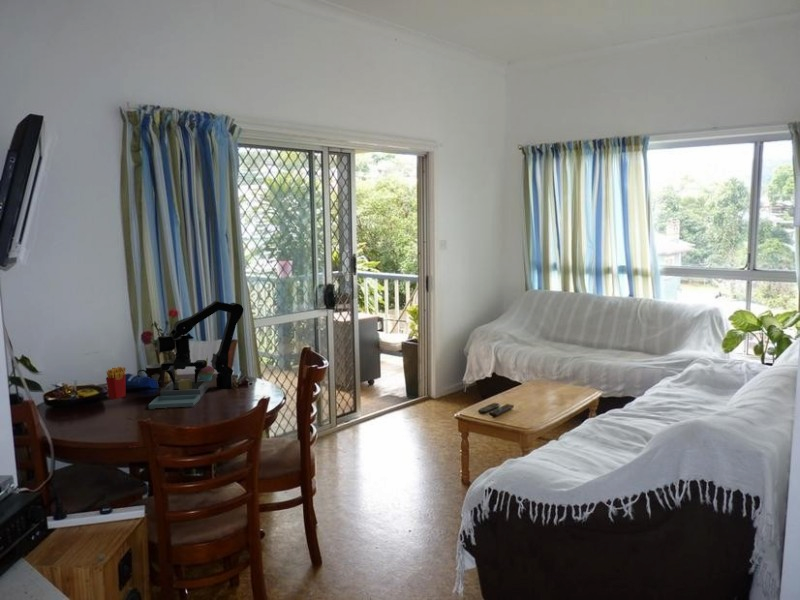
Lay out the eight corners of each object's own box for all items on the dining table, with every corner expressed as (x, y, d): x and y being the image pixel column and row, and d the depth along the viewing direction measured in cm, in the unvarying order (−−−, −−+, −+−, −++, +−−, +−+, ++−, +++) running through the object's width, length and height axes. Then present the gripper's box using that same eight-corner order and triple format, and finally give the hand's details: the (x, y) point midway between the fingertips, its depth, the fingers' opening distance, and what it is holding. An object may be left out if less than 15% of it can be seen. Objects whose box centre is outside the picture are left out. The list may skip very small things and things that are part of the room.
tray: (200, 399, 272) (200, 394, 272) (193, 407, 260) (193, 402, 260) (157, 401, 271) (157, 396, 270) (148, 409, 259) (148, 404, 259)
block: (192, 391, 285) (191, 378, 284) (189, 394, 280) (188, 381, 279) (181, 392, 284) (180, 379, 284) (179, 394, 280) (178, 381, 279)
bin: (209, 387, 291) (208, 379, 291) (200, 397, 274) (200, 389, 274) (171, 388, 290) (170, 381, 290) (160, 399, 273) (159, 391, 273)
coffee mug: (170, 384, 298) (168, 363, 297) (161, 389, 290) (159, 368, 289) (146, 384, 300) (144, 363, 298) (137, 389, 291) (135, 368, 290)
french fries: (112, 400, 274) (110, 370, 272) (105, 399, 276) (103, 370, 274) (129, 394, 282) (127, 366, 281) (122, 393, 284) (120, 365, 282)
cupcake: (218, 379, 306) (217, 354, 305) (206, 383, 299) (205, 358, 297) (204, 377, 310) (203, 353, 308) (192, 381, 302) (190, 357, 301)
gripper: (155, 354, 271) (158, 389, 273) (199, 352, 272) (202, 387, 274) (163, 349, 282) (165, 383, 284) (205, 347, 284) (208, 381, 285)
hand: (185, 383), depth 282 cm, fingers open, 9 cm apart
